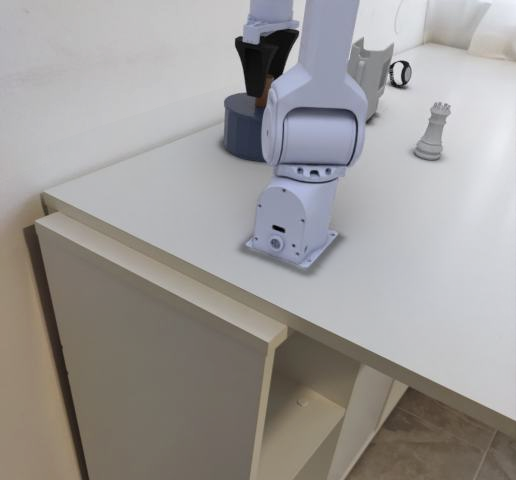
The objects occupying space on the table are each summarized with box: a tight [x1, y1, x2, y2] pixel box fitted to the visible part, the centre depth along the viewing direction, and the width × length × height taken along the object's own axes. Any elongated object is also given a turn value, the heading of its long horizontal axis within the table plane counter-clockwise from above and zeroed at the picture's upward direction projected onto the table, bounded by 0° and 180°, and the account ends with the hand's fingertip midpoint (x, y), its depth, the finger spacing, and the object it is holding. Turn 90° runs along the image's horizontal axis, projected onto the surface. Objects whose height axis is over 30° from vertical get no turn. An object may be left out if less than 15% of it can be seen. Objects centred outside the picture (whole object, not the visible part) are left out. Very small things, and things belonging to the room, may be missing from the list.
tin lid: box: [223, 74, 274, 122], centre depth 79 cm, size 12×12×5 cm
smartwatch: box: [388, 60, 413, 88], centre depth 115 cm, size 4×5×5 cm
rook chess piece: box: [413, 101, 452, 161], centre depth 85 cm, size 4×4×8 cm
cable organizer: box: [346, 36, 395, 122], centre depth 96 cm, size 7×12×12 cm, turn 157°
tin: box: [222, 108, 266, 162], centre depth 82 cm, size 11×11×6 cm
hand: (263, 89), depth 78 cm, fingers open, 7 cm apart
